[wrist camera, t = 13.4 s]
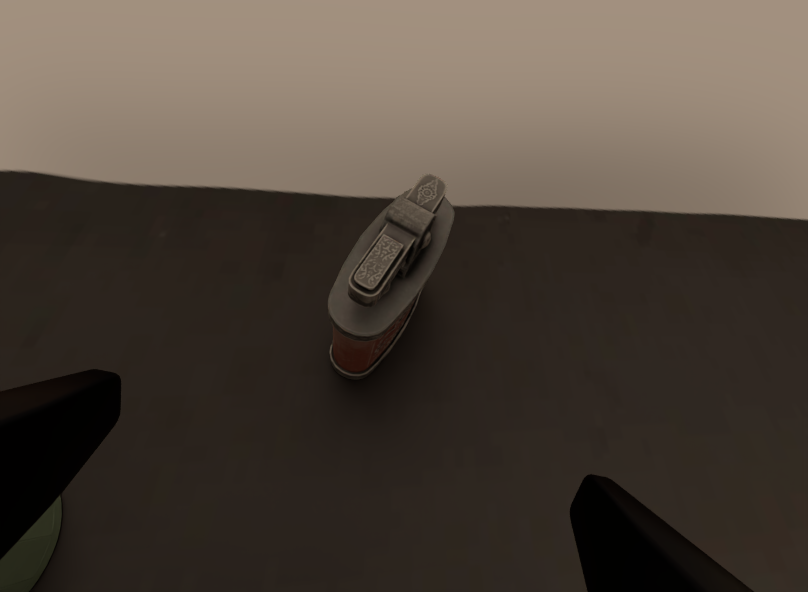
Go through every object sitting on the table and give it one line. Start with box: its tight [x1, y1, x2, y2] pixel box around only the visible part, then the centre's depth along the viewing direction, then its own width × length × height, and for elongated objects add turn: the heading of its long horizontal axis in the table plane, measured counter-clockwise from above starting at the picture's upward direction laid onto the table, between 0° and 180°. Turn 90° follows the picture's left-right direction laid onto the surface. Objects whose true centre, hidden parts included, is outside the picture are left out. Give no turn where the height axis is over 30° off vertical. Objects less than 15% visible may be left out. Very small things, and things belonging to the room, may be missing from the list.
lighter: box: [328, 174, 454, 380], centre depth 18 cm, size 8×3×10 cm, turn 151°
